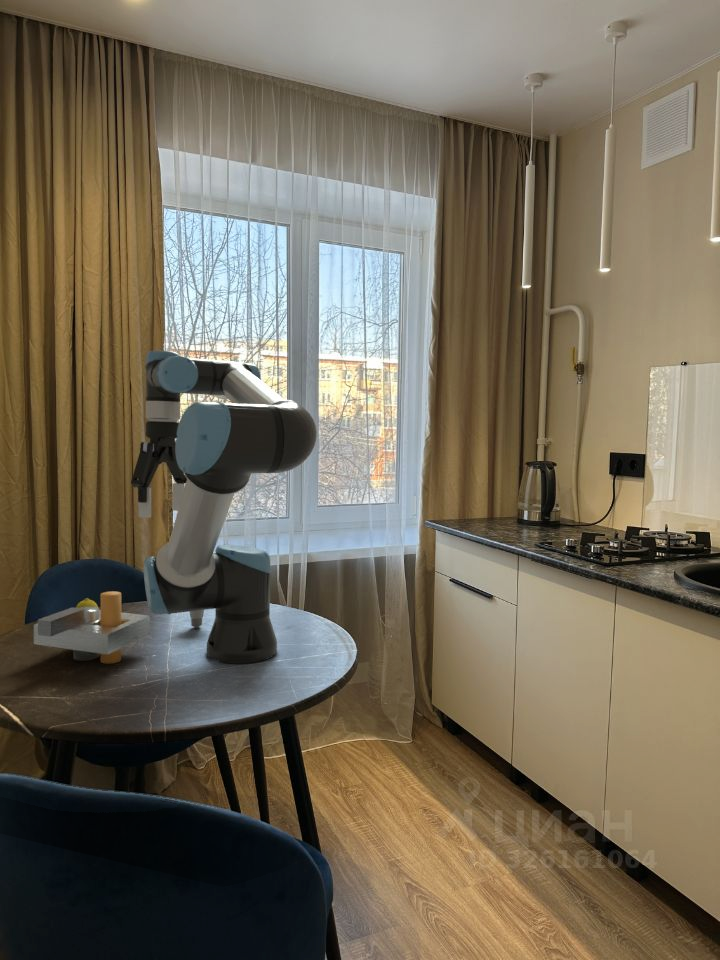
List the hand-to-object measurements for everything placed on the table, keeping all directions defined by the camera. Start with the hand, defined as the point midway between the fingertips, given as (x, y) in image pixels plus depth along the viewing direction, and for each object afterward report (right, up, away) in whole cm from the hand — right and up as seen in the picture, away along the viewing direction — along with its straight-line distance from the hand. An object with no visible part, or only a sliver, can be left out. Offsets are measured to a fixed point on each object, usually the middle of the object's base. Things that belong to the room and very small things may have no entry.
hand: (162, 514), depth 151 cm
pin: (-7, -30, -14) cm, 33 cm away
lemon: (-19, -28, +4) cm, 34 cm away
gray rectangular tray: (-11, -30, -15) cm, 35 cm away
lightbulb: (+5, -28, +10) cm, 31 cm away
